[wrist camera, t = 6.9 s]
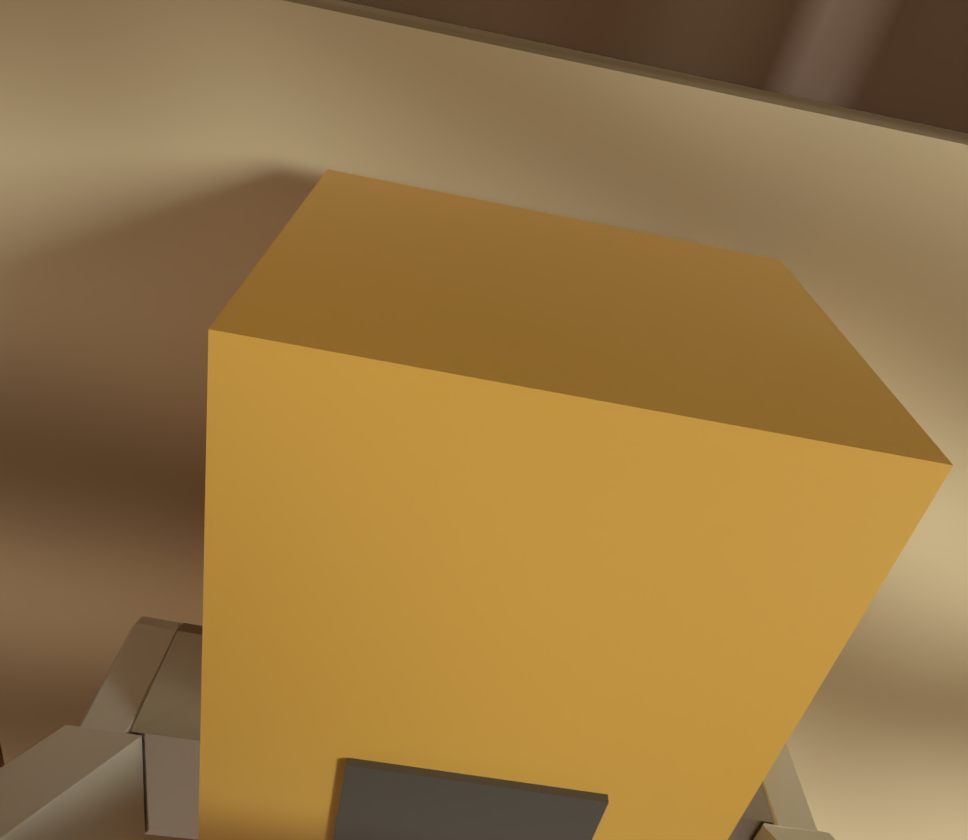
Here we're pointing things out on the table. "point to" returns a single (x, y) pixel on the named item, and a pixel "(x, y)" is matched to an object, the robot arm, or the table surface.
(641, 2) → the table surface
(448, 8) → the table surface
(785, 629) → the block
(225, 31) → the plywood panel
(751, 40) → the table surface
